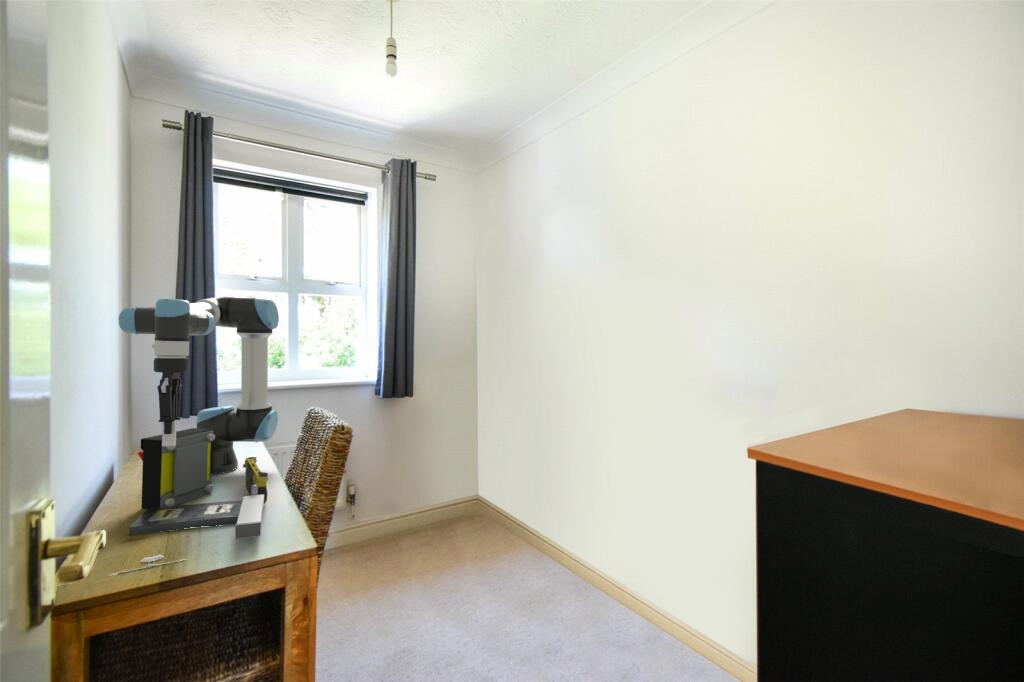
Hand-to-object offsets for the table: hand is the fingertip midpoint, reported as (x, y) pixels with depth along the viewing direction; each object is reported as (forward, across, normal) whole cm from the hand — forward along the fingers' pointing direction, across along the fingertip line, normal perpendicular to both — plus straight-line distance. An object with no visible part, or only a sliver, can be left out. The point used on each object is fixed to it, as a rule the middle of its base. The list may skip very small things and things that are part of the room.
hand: (169, 445), depth 125 cm
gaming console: (+21, -16, +18) cm, 32 cm away
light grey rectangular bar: (+18, +13, +21) cm, 31 cm away
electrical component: (+21, -19, -2) cm, 28 cm away
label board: (+20, 0, +8) cm, 22 cm away
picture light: (+21, +26, +4) cm, 34 cm away
